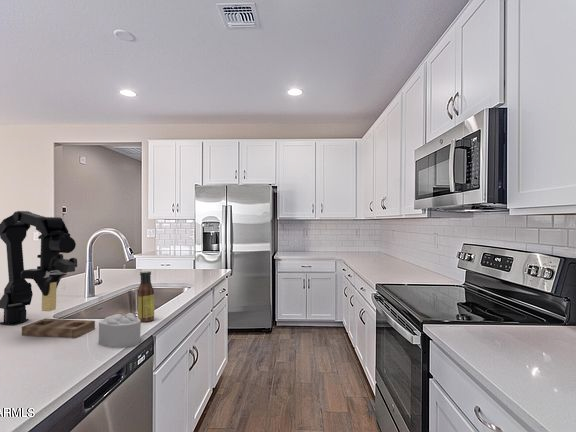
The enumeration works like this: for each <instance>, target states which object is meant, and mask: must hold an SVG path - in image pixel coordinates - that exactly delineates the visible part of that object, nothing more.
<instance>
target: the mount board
mask: <svg viewBox="0 0 576 432" xmlns="http://www.w3.org/2000/svg"><path fill="white" fill-rule="evenodd" d="M95 327H96V321H95V320H84V319H62V318H42V319H40V320H37V321H35V322H30V323H29V324H25V325H22V326H21V336H24V337H26V336H27V337H29V336H30V337H48V338H66V339H67V338H69V339H77V338H79V337H81V336H83V335H85V334H87V333H89V332H92V331H94V330H95V329H96V328H95Z"/></svg>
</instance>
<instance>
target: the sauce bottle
mask: <svg viewBox="0 0 576 432" xmlns="http://www.w3.org/2000/svg"><path fill="white" fill-rule="evenodd" d="M139 273H140V274H139V276H140V284H139V286H138V288H137V317H138V318H139V319H140V320H141V323H148V322H152V321H154V319H155V291H154V287H153V284H152V279H151V274H152V271H150V270H142V271H140V272H139Z"/></svg>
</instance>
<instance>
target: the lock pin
mask: <svg viewBox="0 0 576 432" xmlns="http://www.w3.org/2000/svg"><path fill="white" fill-rule="evenodd" d="M56 284H57V282H49V287H48V295H47V296H44V295H43V294H42V293H41V312H52V311H56V309H57V289H56Z"/></svg>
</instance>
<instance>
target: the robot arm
mask: <svg viewBox="0 0 576 432" xmlns="http://www.w3.org/2000/svg"><path fill="white" fill-rule="evenodd" d="M31 227H35V230H36V231H38V232H39V233H40V235H38V236H37V239H39V240H40V254H37V259H38V258H39V259H40V260H39V261H40V262H39V264H40V265H38V266H37V267H36V268H29V269H25V265H24V253H23V242H24V240H25V239H26V237H27V232H28V230H29V229H30V228H31ZM69 232H70V231H69V229H68V228H67V226H66V224H65V221H64V219H63V218H62V217H59V216H58V217H57V216H56V217H54V216H51V217H49V216H44V215H40V214H37V213H34V212H31V211H28V210H17V211H14V212H13V214H12V215H10V216H8V217H6V218H3V219H2V221H1V222H0V239H1V240H2V242H4V244H5V246H6V258H7V272H8V283H7V284H6V285H5V287H4V290H3V295H2V297H1V298H0V309H1V310H3V321H0V325H10V326H11V325H13V326H14V325H19V324H21V323H24V322H27V321H30V320H29V318H27V309H26V308H27V306H30V305H31V303H32V300H33V296H34V295H33V290H32V283H31V282H28V281H27V279H28V280H33V281H34V282H35V284H36V285H37V287H38V289H39V290H40V292H41V295H42V294H43V295H44V296H47V295H48V287H49V282H57V284H56V290H57V288H58V286H59V283H60V281H61V280H62V278H64V277H65V276H67V275H68V273H72V272H75V271H76V268H77V267H78V259H77V258H75V257H71V258H69V259H68V258H64V255H63V254H69V253H71V252H73V251H74V250H75V249H76V245H77V244H76V241H75V239H74V237H71V234H70V233H69Z"/></svg>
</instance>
